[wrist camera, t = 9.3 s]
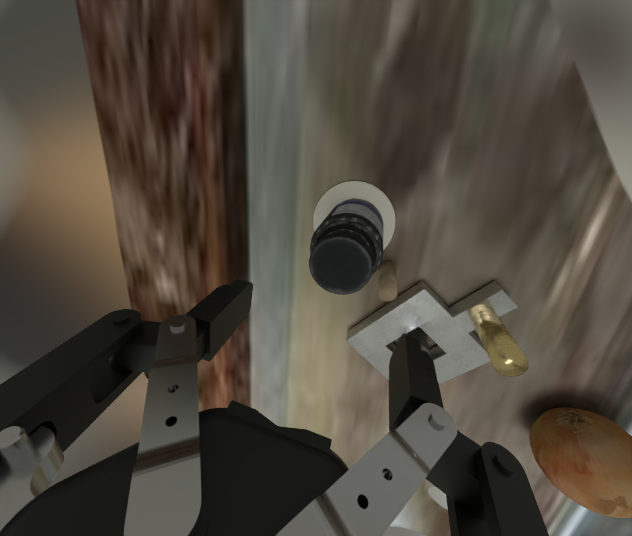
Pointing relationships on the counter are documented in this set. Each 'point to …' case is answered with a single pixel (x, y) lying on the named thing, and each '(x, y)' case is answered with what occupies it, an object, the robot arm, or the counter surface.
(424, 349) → the post
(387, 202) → the coaster
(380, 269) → the dowel
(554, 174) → the counter surface
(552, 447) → the onion
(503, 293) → the grey plate with post
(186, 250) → the counter surface
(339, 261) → the pill bottle
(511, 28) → the counter surface
